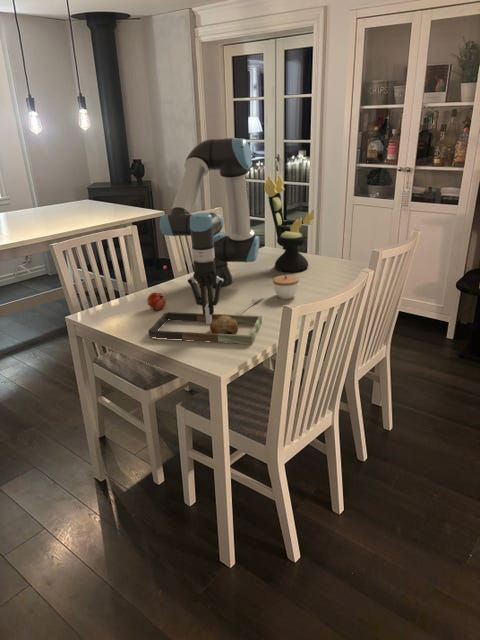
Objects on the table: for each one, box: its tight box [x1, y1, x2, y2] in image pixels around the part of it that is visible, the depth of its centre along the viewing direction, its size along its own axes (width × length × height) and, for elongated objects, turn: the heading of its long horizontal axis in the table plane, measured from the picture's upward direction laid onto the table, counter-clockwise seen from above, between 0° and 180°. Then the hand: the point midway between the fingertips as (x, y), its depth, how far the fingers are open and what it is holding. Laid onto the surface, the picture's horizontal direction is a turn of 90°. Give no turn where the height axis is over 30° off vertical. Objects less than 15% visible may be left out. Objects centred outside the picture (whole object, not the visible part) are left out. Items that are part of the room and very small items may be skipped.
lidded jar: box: [272, 274, 300, 300], centre depth 202 cm, size 11×11×9 cm
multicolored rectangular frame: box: [148, 311, 263, 345], centre depth 175 cm, size 18×38×3 cm, turn 77°
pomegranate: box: [146, 292, 167, 311], centre depth 198 cm, size 7×7×10 cm
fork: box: [234, 297, 265, 315], centre depth 196 cm, size 3×21×3 cm, turn 147°
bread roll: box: [209, 314, 239, 335], centre depth 173 cm, size 10×10×8 cm
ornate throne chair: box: [263, 174, 315, 273], centre depth 232 cm, size 19×22×45 cm
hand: (209, 322), depth 174 cm, fingers closed
